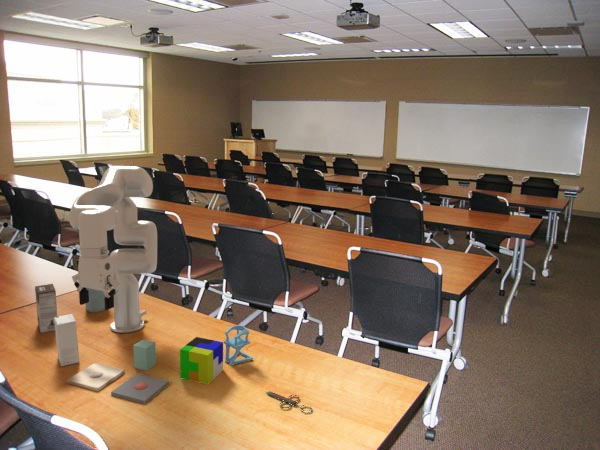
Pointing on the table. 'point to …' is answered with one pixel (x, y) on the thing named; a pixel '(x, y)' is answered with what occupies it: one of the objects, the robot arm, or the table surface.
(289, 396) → the syringe
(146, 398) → the slate mat
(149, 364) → the teal block
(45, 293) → the coffee box
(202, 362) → the puzzle toy
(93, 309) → the teal cup
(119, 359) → the table surface
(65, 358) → the skincare box
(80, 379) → the birch pad
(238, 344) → the chair
